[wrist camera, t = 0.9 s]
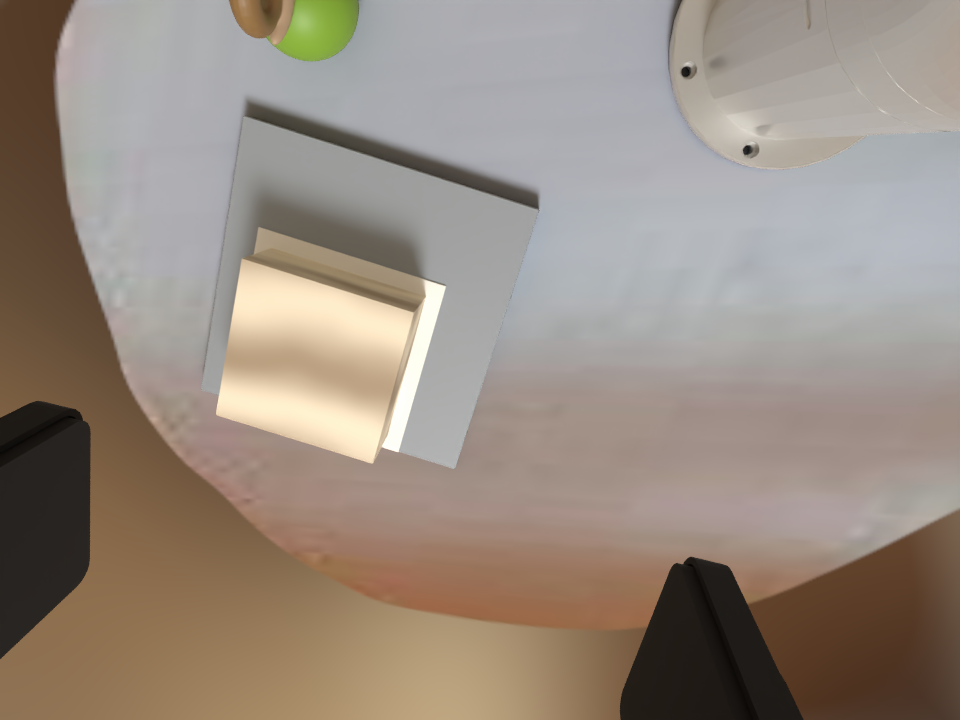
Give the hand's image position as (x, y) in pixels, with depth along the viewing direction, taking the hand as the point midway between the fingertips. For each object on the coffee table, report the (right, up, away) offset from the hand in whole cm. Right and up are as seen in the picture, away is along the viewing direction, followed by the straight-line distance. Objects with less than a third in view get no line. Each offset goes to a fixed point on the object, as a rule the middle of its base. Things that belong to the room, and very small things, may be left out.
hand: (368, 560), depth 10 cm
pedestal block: (-8, +4, +30) cm, 31 cm away
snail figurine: (-7, +23, +25) cm, 34 cm away
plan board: (-6, +7, +30) cm, 31 cm away
